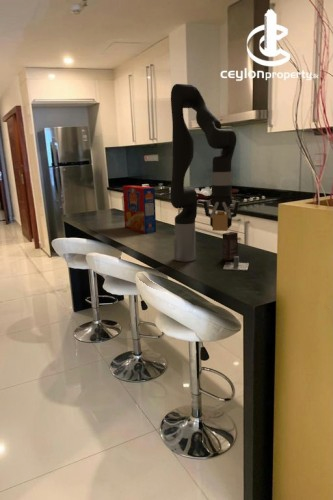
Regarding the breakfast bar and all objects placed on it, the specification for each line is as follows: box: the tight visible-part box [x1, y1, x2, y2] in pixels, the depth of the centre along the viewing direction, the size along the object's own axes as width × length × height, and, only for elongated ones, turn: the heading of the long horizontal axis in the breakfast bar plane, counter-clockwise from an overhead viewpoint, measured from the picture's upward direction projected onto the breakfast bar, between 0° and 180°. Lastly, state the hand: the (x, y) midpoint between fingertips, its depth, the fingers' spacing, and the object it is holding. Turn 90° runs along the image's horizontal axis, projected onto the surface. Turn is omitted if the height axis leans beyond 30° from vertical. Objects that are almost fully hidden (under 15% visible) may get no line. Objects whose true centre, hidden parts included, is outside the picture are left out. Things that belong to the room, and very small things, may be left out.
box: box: [222, 231, 239, 261], centre depth 178 cm, size 6×4×12 cm
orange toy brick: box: [212, 210, 230, 232], centre depth 151 cm, size 6×6×7 cm
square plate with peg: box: [222, 255, 250, 272], centre depth 165 cm, size 10×10×4 cm
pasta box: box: [122, 184, 157, 235], centre depth 250 cm, size 28×8×28 cm, turn 32°
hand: (220, 227), depth 152 cm, fingers closed on orange toy brick, 5 cm apart
